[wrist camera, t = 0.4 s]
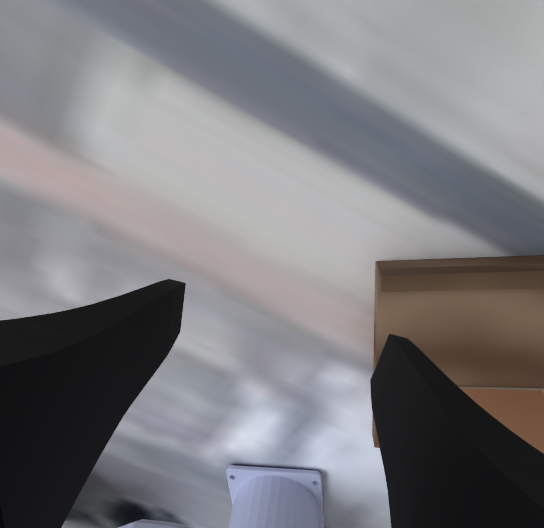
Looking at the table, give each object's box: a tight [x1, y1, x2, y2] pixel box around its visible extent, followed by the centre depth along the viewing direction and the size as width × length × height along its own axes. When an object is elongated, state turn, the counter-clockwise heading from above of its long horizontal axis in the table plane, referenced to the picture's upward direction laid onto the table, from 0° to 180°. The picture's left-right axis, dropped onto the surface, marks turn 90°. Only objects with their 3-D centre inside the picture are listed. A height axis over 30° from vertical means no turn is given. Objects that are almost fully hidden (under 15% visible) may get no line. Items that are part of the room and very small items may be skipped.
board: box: [372, 255, 544, 448], centre depth 21 cm, size 14×14×2 cm
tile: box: [459, 387, 544, 453], centre depth 19 cm, size 2×6×6 cm, turn 95°
